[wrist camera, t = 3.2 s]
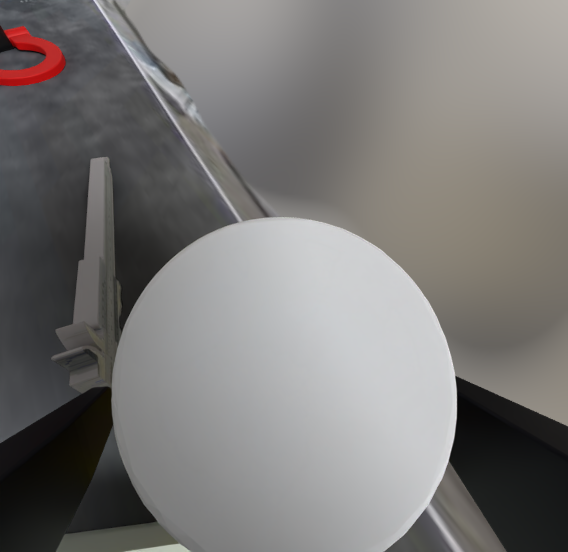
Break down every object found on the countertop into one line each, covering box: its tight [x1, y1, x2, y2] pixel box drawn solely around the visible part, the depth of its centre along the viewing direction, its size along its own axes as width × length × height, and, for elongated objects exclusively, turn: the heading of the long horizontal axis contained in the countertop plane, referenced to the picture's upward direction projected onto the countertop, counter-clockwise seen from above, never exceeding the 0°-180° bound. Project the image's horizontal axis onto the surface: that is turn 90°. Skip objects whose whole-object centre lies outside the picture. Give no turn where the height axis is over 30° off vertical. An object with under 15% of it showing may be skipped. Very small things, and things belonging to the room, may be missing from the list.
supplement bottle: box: [111, 217, 457, 552], centre depth 9 cm, size 7×7×13 cm
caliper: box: [51, 157, 123, 394], centre depth 16 cm, size 20×1×6 cm, turn 22°
